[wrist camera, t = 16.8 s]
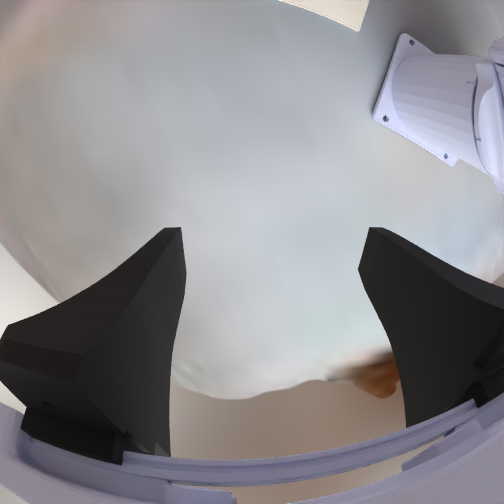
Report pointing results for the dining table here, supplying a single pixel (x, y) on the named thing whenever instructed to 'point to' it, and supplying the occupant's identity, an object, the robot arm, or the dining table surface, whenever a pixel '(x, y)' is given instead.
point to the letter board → (336, 10)
